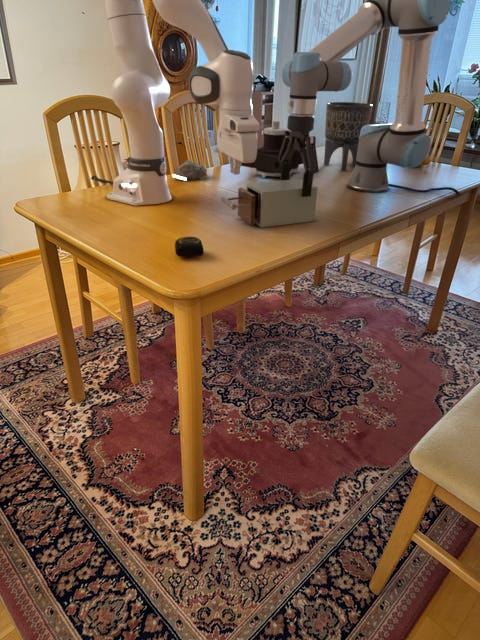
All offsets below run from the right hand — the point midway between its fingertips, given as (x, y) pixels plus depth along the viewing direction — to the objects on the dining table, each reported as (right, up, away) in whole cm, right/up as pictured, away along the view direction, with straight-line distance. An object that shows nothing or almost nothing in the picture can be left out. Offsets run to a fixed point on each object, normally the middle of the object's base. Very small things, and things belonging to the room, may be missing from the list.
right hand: (294, 190), depth 139 cm
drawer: (-10, -8, 0) cm, 13 cm away
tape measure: (-29, -24, -25) cm, 45 cm away
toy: (+68, +35, +79) cm, 110 cm away
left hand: (-18, +2, -10) cm, 21 cm away
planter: (+30, +32, +72) cm, 84 cm away
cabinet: (-4, -8, +3) cm, 9 cm away
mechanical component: (+1, +24, +58) cm, 63 cm away
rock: (-36, +18, +46) cm, 61 cm away
